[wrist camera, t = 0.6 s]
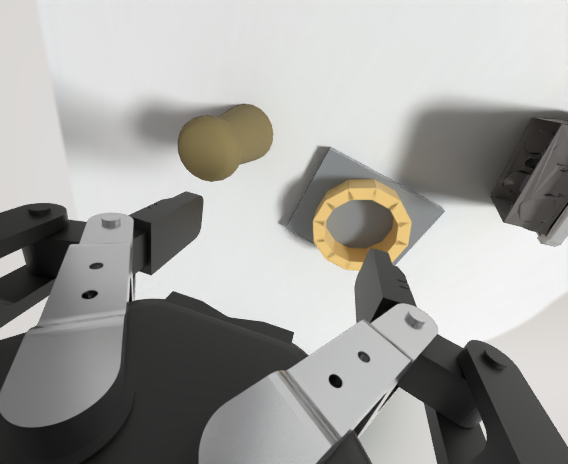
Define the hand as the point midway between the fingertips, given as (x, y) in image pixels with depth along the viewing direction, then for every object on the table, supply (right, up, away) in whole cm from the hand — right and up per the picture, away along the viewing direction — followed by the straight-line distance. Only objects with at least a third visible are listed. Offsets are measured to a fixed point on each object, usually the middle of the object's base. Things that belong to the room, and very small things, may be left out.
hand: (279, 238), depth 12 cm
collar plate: (+9, +2, +19) cm, 21 cm away
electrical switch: (+23, +7, +13) cm, 28 cm away
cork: (-4, +12, +18) cm, 21 cm away
